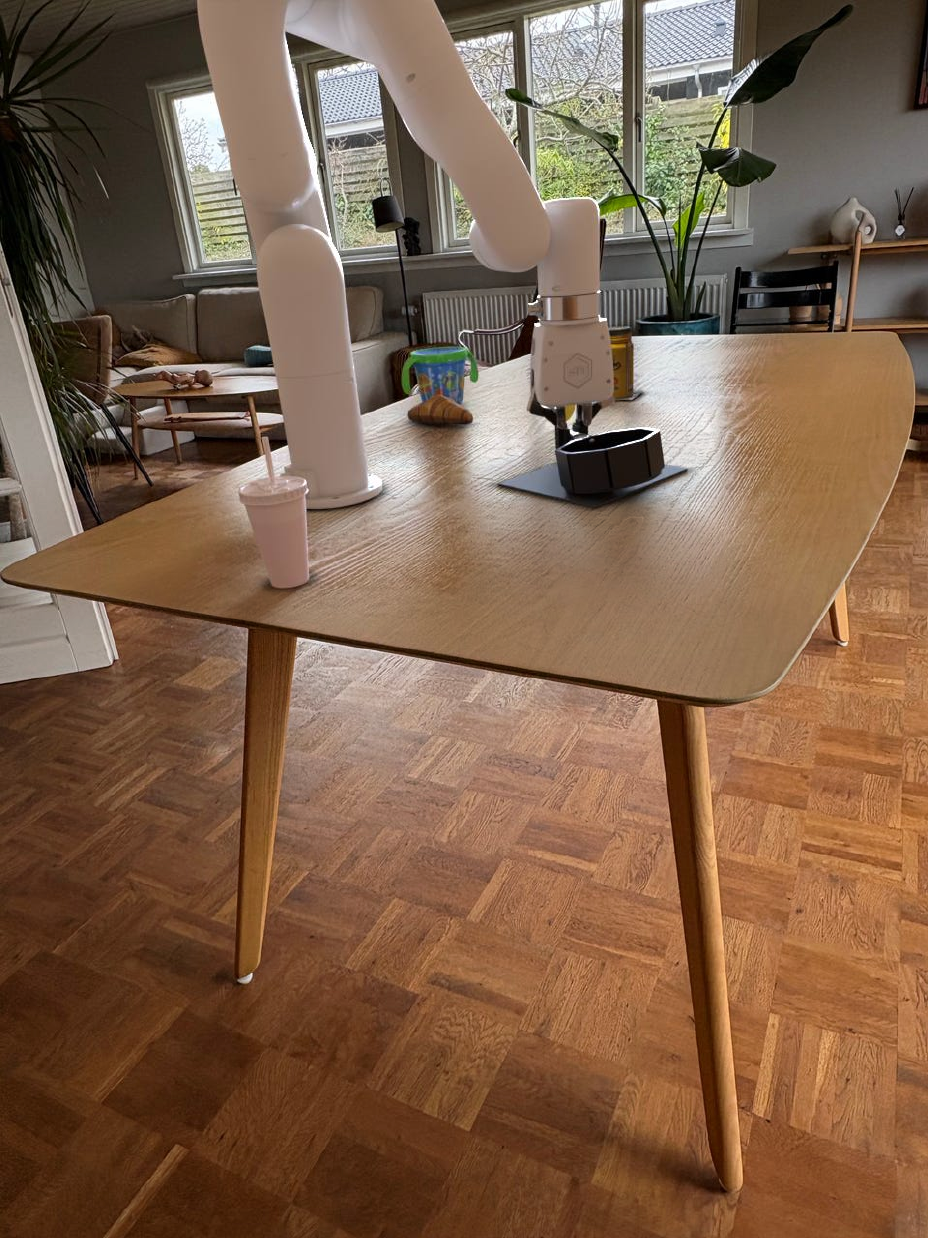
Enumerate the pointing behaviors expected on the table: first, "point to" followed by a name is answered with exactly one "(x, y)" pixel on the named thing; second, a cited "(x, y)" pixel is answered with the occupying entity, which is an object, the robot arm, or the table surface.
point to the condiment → (623, 363)
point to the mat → (550, 486)
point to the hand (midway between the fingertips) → (571, 454)
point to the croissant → (440, 412)
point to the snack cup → (440, 372)
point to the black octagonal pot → (610, 460)
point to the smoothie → (279, 524)
